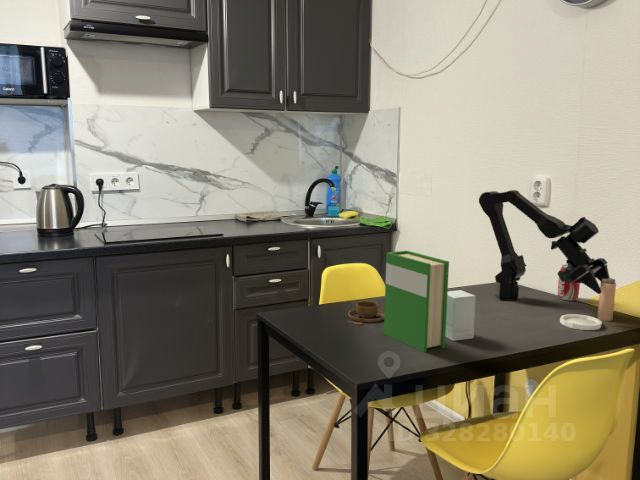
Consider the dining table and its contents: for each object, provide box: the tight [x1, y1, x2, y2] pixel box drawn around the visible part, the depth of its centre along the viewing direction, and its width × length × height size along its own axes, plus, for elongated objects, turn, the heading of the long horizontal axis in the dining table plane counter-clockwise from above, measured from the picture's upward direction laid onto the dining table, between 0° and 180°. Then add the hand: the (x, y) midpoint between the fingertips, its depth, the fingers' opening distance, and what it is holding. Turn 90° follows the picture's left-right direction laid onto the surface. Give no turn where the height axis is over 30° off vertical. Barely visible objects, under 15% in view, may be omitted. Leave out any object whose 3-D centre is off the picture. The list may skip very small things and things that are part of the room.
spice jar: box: [597, 277, 617, 322], centre depth 195 cm, size 4×4×13 cm
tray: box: [559, 313, 603, 331], centre depth 189 cm, size 12×12×2 cm
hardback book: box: [383, 250, 450, 353], centre depth 171 cm, size 18×7×24 cm, turn 31°
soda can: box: [557, 264, 581, 302], centre depth 218 cm, size 7×7×12 cm
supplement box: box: [445, 289, 477, 342], centre depth 176 cm, size 7×7×13 cm
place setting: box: [347, 300, 385, 326], centre depth 192 cm, size 18×20×6 cm
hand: (605, 290), depth 195 cm, fingers open, 9 cm apart
